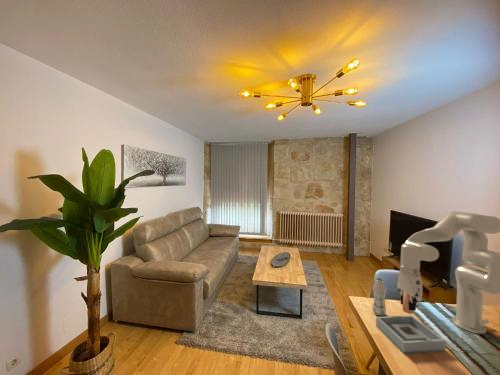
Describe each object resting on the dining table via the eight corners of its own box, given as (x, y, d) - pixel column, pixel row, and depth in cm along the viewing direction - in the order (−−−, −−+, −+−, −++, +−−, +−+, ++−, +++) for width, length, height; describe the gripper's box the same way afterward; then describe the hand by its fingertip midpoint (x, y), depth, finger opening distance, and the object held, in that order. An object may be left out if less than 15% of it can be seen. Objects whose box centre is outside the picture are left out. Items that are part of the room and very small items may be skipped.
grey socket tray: (411, 324, 113) (411, 315, 113) (445, 351, 95) (445, 340, 95) (376, 326, 111) (376, 316, 111) (403, 353, 93) (404, 342, 93)
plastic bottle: (388, 318, 118) (388, 283, 117) (374, 316, 119) (375, 281, 119) (383, 311, 124) (384, 277, 124) (370, 309, 126) (371, 276, 125)
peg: (408, 308, 105) (409, 288, 104) (415, 313, 101) (416, 293, 100) (400, 308, 104) (401, 289, 104) (407, 313, 100) (408, 293, 100)
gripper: (433, 277, 94) (431, 317, 94) (403, 263, 111) (401, 297, 111) (417, 277, 93) (415, 318, 94) (389, 263, 110) (388, 297, 110)
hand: (408, 306), depth 102 cm, fingers closed on peg, 4 cm apart
